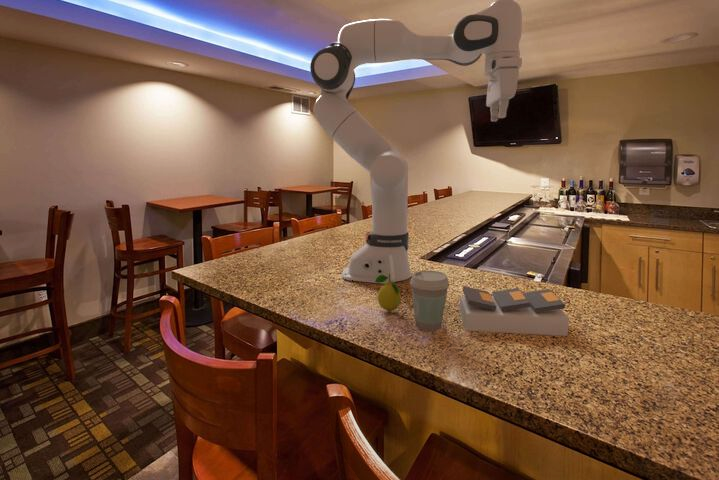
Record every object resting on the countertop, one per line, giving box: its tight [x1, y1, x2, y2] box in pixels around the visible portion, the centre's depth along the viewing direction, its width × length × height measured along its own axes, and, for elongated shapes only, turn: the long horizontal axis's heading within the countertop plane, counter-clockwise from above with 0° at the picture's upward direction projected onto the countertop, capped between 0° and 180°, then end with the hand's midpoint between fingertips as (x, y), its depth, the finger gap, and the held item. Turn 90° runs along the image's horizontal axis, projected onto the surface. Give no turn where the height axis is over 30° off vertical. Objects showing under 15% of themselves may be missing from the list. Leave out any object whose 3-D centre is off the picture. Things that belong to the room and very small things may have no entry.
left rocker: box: [462, 285, 497, 311], centre depth 85 cm, size 6×9×1 cm, turn 174°
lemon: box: [375, 274, 403, 313], centre depth 90 cm, size 7×6×10 cm
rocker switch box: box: [458, 294, 570, 337], centre depth 84 cm, size 21×11×4 cm, turn 82°
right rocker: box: [522, 288, 566, 312], centre depth 83 cm, size 6×9×1 cm, turn 170°
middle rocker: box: [492, 287, 531, 311], centre depth 84 cm, size 6×9×1 cm, turn 170°
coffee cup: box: [409, 270, 450, 332], centre depth 82 cm, size 8×8×12 cm
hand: (498, 119), depth 105 cm, fingers open, 8 cm apart
